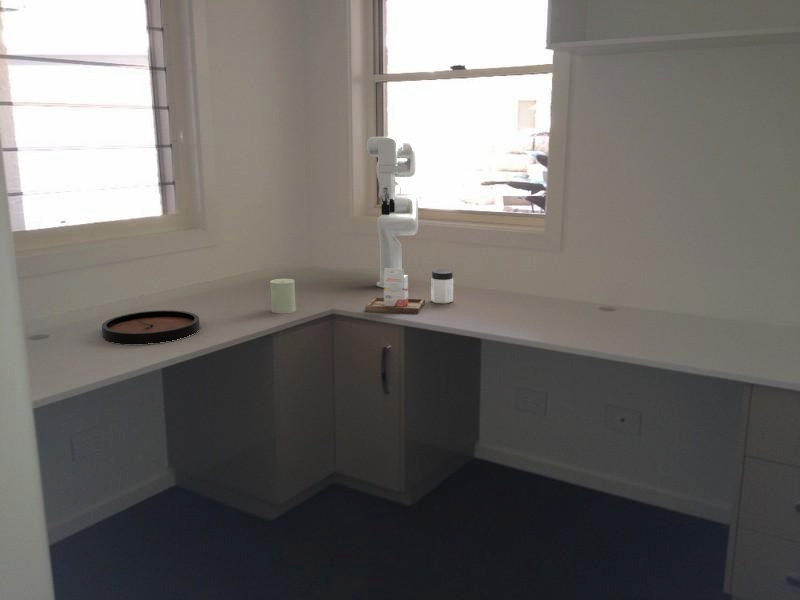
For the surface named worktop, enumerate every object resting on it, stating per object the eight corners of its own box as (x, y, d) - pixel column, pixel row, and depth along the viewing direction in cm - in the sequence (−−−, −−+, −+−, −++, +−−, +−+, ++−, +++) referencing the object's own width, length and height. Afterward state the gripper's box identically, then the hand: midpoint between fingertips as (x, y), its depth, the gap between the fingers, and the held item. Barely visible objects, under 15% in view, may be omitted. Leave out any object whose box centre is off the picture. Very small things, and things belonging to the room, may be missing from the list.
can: (273, 314, 271) (271, 282, 268) (269, 309, 279) (267, 278, 277) (297, 312, 274) (296, 281, 271) (293, 307, 282) (292, 276, 280)
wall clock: (203, 328, 239) (100, 337, 228) (204, 339, 239) (101, 350, 229) (194, 307, 267) (102, 314, 256) (195, 317, 268) (103, 325, 257)
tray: (375, 301, 290) (374, 297, 290) (424, 303, 286) (424, 298, 286) (365, 311, 275) (365, 306, 274) (418, 313, 271) (418, 308, 271)
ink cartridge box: (408, 304, 282) (408, 267, 279) (404, 307, 277) (404, 269, 274) (387, 303, 285) (387, 265, 281) (383, 305, 280) (383, 268, 277)
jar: (441, 304, 285) (442, 274, 282) (426, 301, 291) (427, 271, 288) (457, 300, 291) (457, 271, 288) (442, 297, 297) (442, 268, 294)
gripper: (383, 168, 294) (383, 211, 298) (373, 170, 278) (374, 215, 282) (401, 168, 293) (401, 211, 297) (392, 170, 276) (393, 216, 280)
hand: (388, 213), depth 289 cm, fingers open, 9 cm apart
